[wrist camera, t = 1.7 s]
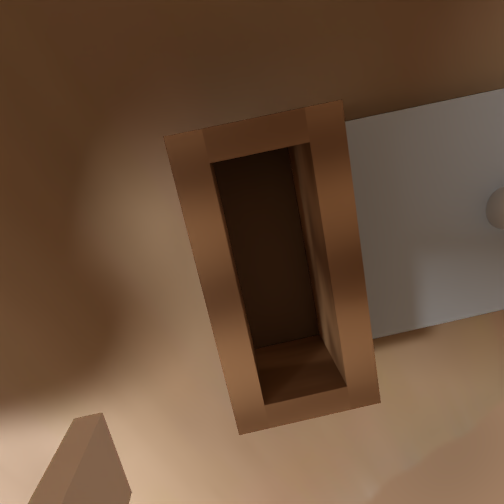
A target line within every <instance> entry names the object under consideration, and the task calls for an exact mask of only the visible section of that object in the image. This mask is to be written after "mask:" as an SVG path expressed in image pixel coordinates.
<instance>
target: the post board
mask: <svg viewBox="0 0 504 504" xmlns="http://www.w3.org/2000/svg"><path fill="white" fill-rule="evenodd" d="M345 125H346V133H347V141H348V149H349V157H350V165H351V173H352V181H353V188H354V196H355V204H356V212H357V220H358V228H359V236H360V244H361V252H362V259H363V267H364V275H365V283H366V291H367V299H368V307H369V315H370V323H371V330H372V338H373V339H375V338H380V337H384V336H388V335H393V334H397V333H402V332H406V331H411V330H415V329H419V328H424V327H428V326H433V325H437V324H442V323H446V322H451V321H455V320H459V319H464V318H468V317H473V316H477V315H482V314H486V313H491V312H495V311H499V310H504V88H502V89H498V90H493V91H488V92H483V93H479V94H474V95H469V96H464V97H460V98H455V99H450V100H445V101H441V102H436V103H431V104H426V105H422V106H417V107H412V108H407V109H403V110H398V111H393V112H388V113H384V114H379V115H374V116H369V117H365V118H360V119H355V120H350V121H345Z"/></svg>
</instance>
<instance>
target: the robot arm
mask: <svg viewBox="0 0 504 504" xmlns="http://www.w3.org/2000/svg"><path fill="white" fill-rule="evenodd" d="M131 493H132V492H131V489H130V486H129V484H128V481H127V478H126V475H125V473H124V470H123V467H122V465H121V462H120V459H119V456H118V454H117V451H116V448H115V445H114V443H113V440H112V437H111V434H110V432H109V429H108V426H107V424H106V421H105V418H104V415H103V413H98V414H93V415H89V416H84V417H80V418H75V419H74V420H73V422H72V424H71V425H70V427H69V429H68V431H67V433H66V435H65V436H64V438H63V440H62V442H61V444H60V446H59V447H58V449H57V451H56V453H55V455H54V457H53V458H52V460H51V462H50V464H49V466H48V468H47V469H46V471H45V473H44V475H43V477H42V479H41V481H40V482H39V484H38V486H37V488H36V490H35V492H34V493H33V495H32V497H31V499H30V501H29V503H28V504H129V501H130V497H131Z"/></svg>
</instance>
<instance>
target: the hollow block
mask: <svg viewBox="0 0 504 504" xmlns="http://www.w3.org/2000/svg"><path fill="white" fill-rule="evenodd" d="M163 138H164V142H165V145H166V149H167V153H168V157H169V161H170V165H171V169H172V173H173V177H174V181H175V185H176V189H177V193H178V196H179V200H180V204H181V208H182V212H183V216H184V220H185V224H186V228H187V232H188V236H189V240H190V243H191V247H192V251H193V255H194V259H195V263H196V267H197V271H198V275H199V279H200V283H201V287H202V291H203V294H204V298H205V302H206V306H207V310H208V314H209V318H210V322H211V326H212V330H213V334H214V338H215V342H216V345H217V349H218V353H219V357H220V361H221V365H222V369H223V373H224V377H225V381H226V385H227V389H228V392H229V396H230V400H231V404H232V408H233V412H234V416H235V420H236V424H237V428H238V432H239V435H242V434H246V433H251V432H255V431H259V430H264V429H268V428H272V427H277V426H281V425H286V424H290V423H294V422H299V421H303V420H307V419H312V418H316V417H320V416H325V415H329V414H333V413H338V412H342V411H346V410H351V409H355V408H360V407H364V406H368V405H373V404H377V403H381V401H380V394H379V386H378V378H377V370H376V362H375V354H374V346H373V338H372V330H371V323H370V315H369V307H368V299H367V291H366V283H365V275H364V267H363V259H362V252H361V244H360V236H359V228H358V220H357V212H356V204H355V196H354V188H353V181H352V173H351V165H350V157H349V149H348V141H347V133H346V125H345V117H344V110H343V102H342V100H337V101H332V102H327V103H323V104H318V105H313V106H308V107H303V108H299V109H294V110H289V111H284V112H280V113H275V114H270V115H265V116H260V117H256V118H251V119H246V120H241V121H236V122H232V123H227V124H222V125H217V126H212V127H208V128H203V129H198V130H193V131H188V132H184V133H179V134H174V135H169V136H165V137H163ZM285 147H288V150H289V156H290V162H291V168H292V174H293V180H294V186H295V192H296V198H297V203H298V209H299V215H300V221H301V227H302V233H303V239H304V245H305V251H306V257H307V263H308V268H309V274H310V280H311V286H312V292H313V298H314V304H315V310H316V316H317V322H318V328H319V333H320V335H315V336H311V337H306V338H302V339H297V340H293V341H289V342H284V343H280V344H275V345H271V346H266V347H262V348H257V349H254V344H253V340H252V336H251V331H250V327H249V322H248V318H247V313H246V309H245V304H244V300H243V295H242V291H241V287H240V282H239V278H238V273H237V269H236V264H235V260H234V255H233V251H232V247H231V242H230V238H229V233H228V229H227V224H226V220H225V215H224V211H223V206H222V202H221V198H220V193H219V189H218V184H217V180H216V175H215V171H214V166H213V162H218V161H223V160H228V159H232V158H237V157H242V156H247V155H251V154H256V153H261V152H266V151H270V150H275V149H280V148H285Z"/></svg>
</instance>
